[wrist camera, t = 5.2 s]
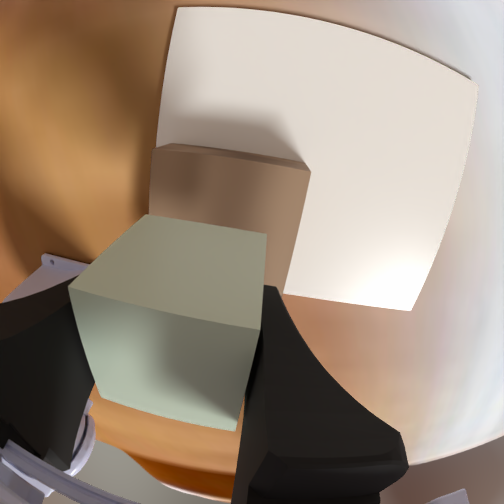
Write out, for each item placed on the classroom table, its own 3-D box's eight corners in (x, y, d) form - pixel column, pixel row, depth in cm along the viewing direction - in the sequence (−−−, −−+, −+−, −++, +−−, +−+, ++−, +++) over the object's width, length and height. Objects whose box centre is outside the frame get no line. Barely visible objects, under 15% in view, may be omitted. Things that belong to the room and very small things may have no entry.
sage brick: (148, 310, 12) (101, 397, 8) (145, 214, 10) (67, 286, 6) (248, 330, 12) (235, 431, 8) (267, 233, 10) (260, 329, 6)
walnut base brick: (164, 259, 20) (149, 282, 17) (171, 143, 16) (152, 148, 13) (279, 280, 20) (279, 306, 17) (304, 162, 16) (311, 171, 13)
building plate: (154, 265, 21) (151, 269, 20) (180, 10, 13) (178, 7, 12) (408, 306, 21) (410, 310, 20) (474, 85, 13) (478, 85, 12)
